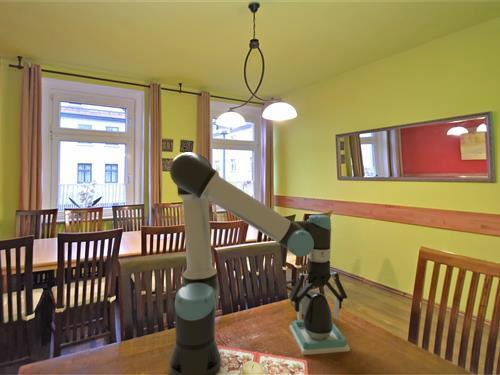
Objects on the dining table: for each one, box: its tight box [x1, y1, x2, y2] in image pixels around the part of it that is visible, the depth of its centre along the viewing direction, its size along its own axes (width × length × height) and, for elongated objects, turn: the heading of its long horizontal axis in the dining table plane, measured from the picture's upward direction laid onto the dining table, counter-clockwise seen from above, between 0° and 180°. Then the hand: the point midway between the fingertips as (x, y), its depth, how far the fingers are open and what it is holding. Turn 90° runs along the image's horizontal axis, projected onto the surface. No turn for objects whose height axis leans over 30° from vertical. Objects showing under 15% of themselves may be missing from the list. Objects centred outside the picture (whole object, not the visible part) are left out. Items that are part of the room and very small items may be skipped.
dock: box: [288, 319, 351, 356], centre depth 102 cm, size 16×16×3 cm
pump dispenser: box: [302, 292, 334, 340], centre depth 101 cm, size 10×10×15 cm
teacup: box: [289, 289, 319, 316], centre depth 120 cm, size 14×11×8 cm
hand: (317, 318), depth 101 cm, fingers open, 13 cm apart
